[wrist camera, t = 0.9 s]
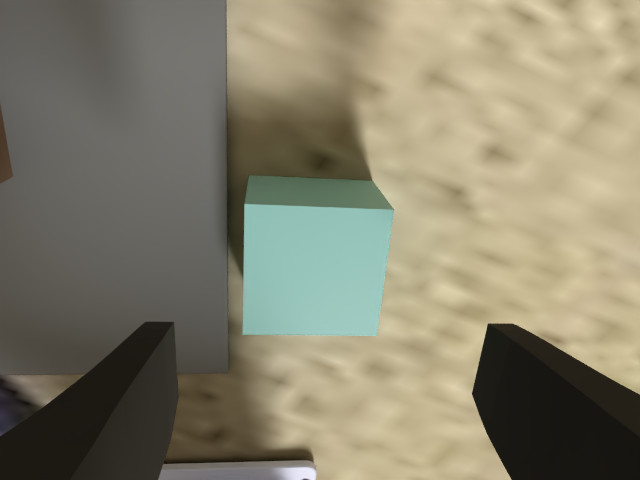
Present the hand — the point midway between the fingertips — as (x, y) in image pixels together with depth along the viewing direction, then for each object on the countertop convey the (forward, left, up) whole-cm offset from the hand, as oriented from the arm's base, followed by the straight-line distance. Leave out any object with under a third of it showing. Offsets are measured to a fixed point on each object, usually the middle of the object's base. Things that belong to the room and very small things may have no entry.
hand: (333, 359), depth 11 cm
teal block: (0, 0, -8) cm, 8 cm away
